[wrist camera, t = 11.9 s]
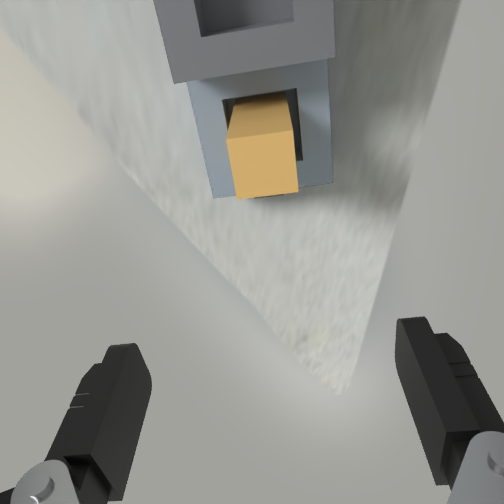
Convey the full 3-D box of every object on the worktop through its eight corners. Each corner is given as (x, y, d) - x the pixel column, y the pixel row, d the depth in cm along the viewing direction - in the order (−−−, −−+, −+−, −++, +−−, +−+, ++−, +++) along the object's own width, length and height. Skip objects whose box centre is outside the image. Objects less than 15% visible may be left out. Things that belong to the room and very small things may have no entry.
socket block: (156, -103, 26) (121, -132, 20) (310, -136, 25) (327, -177, 19) (217, 179, 37) (208, 222, 31) (326, 164, 36) (340, 205, 30)
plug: (235, 98, 32) (225, 139, 24) (285, 91, 32) (292, 130, 24) (244, 156, 35) (238, 210, 27) (290, 149, 35) (299, 203, 26)
